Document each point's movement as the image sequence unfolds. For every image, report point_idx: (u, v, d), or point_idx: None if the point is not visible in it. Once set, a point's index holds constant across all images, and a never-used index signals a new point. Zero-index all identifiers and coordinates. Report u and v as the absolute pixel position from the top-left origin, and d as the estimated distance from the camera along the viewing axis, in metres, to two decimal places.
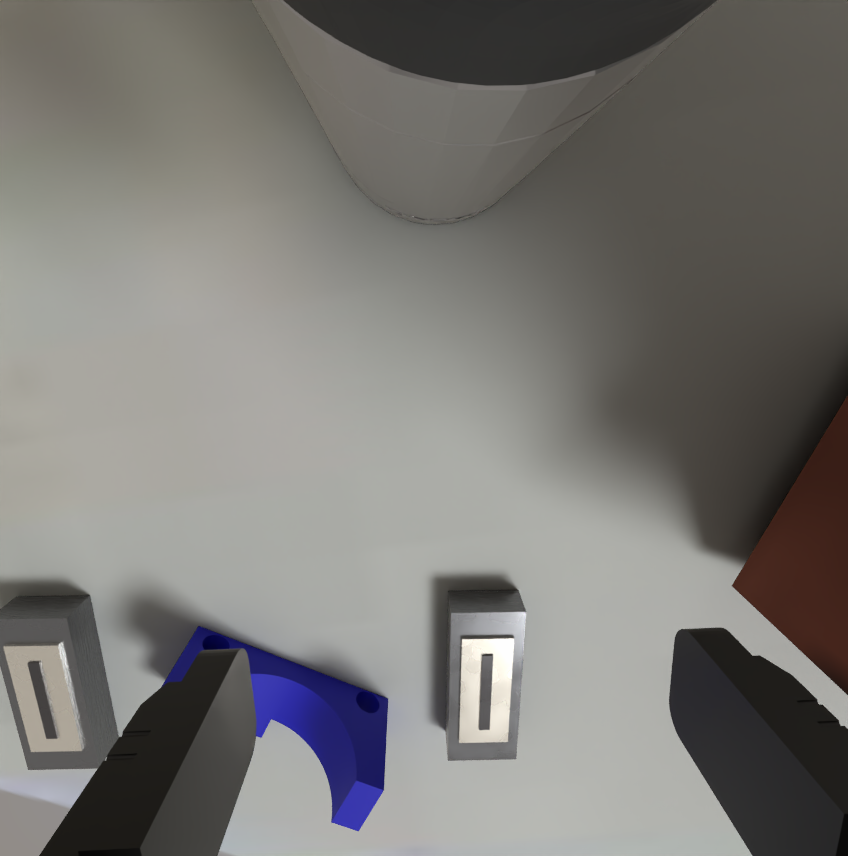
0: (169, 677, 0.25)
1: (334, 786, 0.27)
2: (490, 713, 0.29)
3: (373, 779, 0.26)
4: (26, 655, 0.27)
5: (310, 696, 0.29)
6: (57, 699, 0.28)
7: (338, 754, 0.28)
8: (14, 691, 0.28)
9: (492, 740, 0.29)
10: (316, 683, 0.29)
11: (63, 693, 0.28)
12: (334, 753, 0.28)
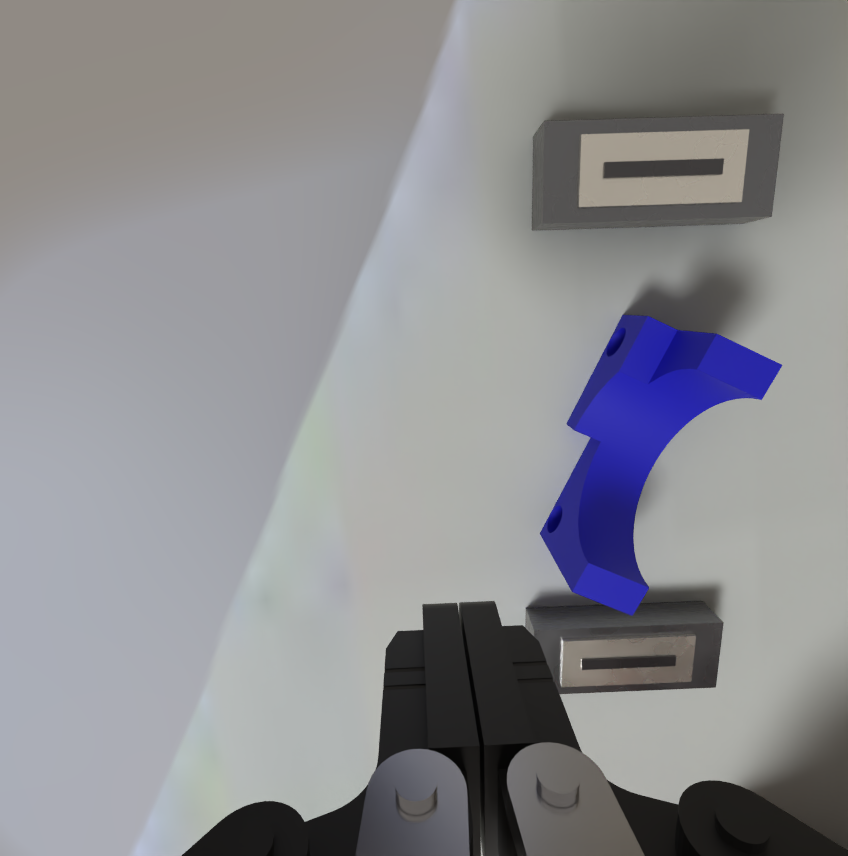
0: None
1: (589, 545, 0.23)
2: (600, 668, 0.27)
3: None
4: (732, 157, 0.21)
5: (635, 487, 0.26)
6: (662, 187, 0.22)
7: (608, 539, 0.24)
8: (675, 127, 0.21)
9: (564, 672, 0.27)
10: None
11: (670, 195, 0.22)
12: (603, 533, 0.24)
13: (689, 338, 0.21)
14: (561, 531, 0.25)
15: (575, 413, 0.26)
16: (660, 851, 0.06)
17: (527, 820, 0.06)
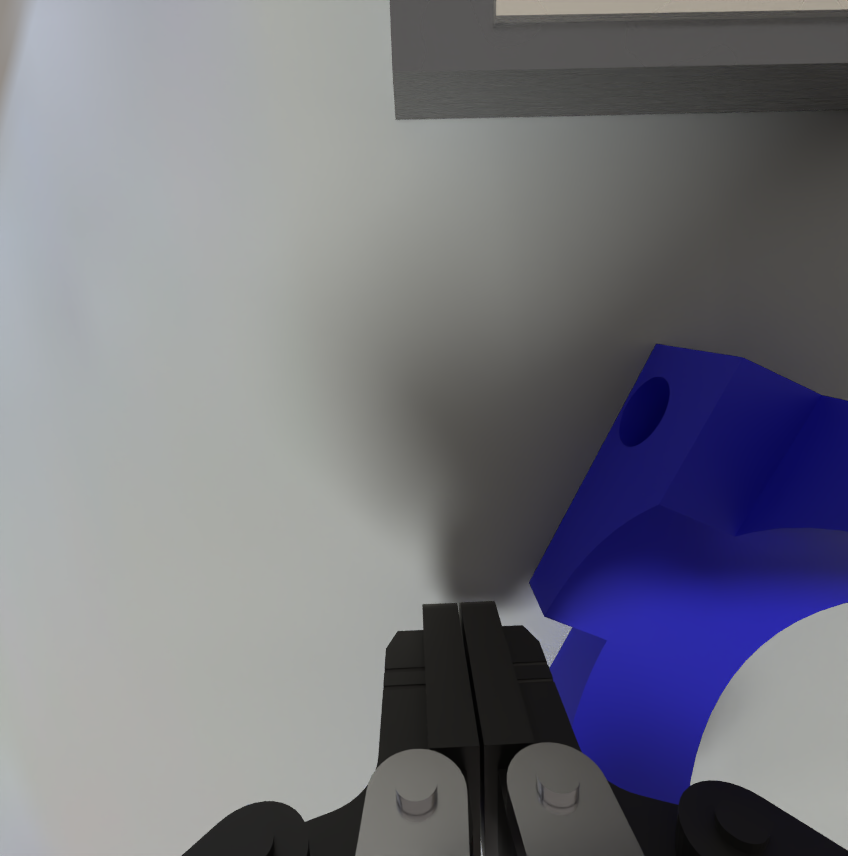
0: None
1: None
2: None
3: None
4: None
5: (685, 737, 0.11)
6: None
7: None
8: None
9: None
10: None
11: None
12: None
13: None
14: None
15: (548, 566, 0.11)
16: (660, 851, 0.06)
17: (527, 820, 0.06)
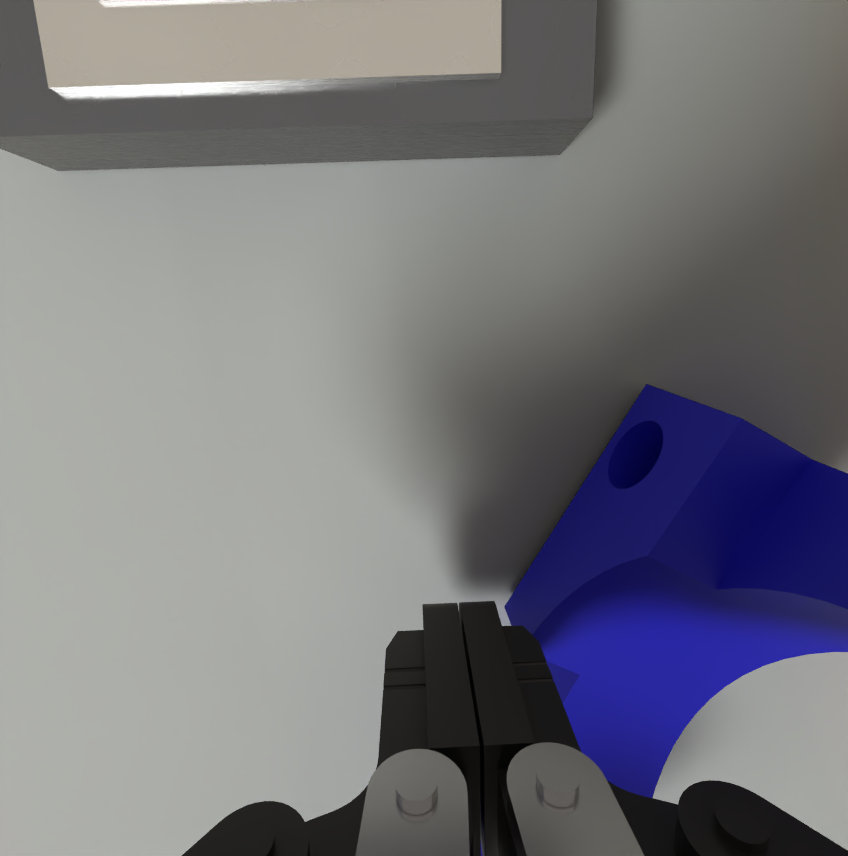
0: None
1: None
2: None
3: None
4: None
5: (646, 768, 0.11)
6: (274, 30, 0.08)
7: None
8: None
9: None
10: None
11: (299, 55, 0.08)
12: None
13: None
14: None
15: (527, 597, 0.11)
16: (660, 851, 0.06)
17: (527, 820, 0.06)
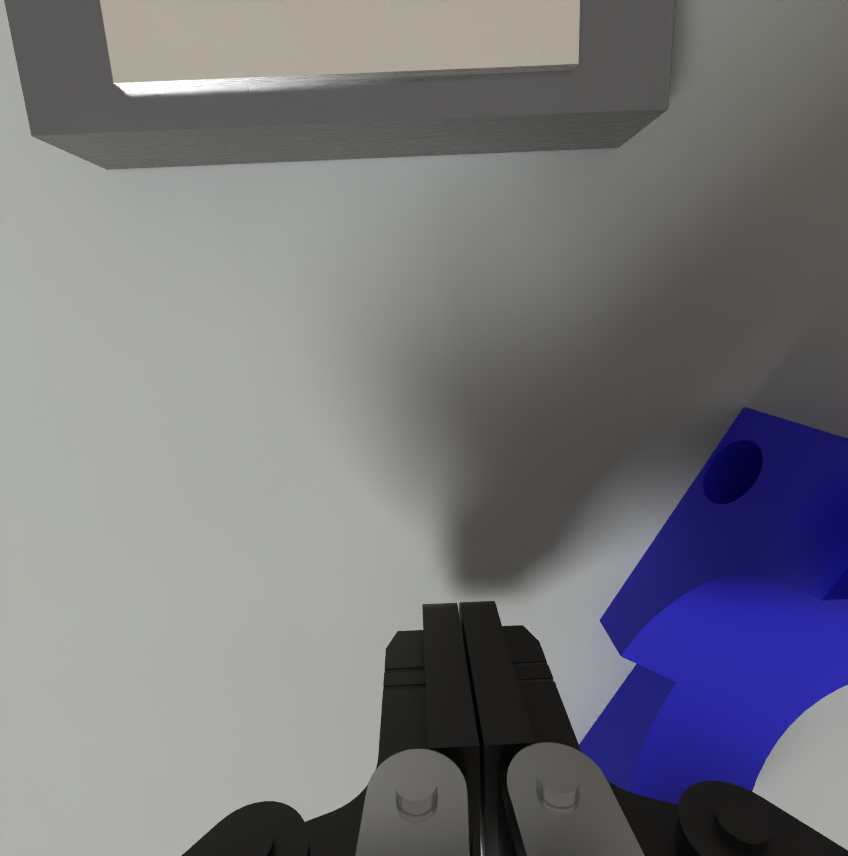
0: None
1: None
2: None
3: None
4: None
5: (741, 778, 0.12)
6: (347, 22, 0.08)
7: None
8: None
9: None
10: None
11: (373, 47, 0.08)
12: None
13: None
14: None
15: (622, 607, 0.12)
16: (660, 851, 0.06)
17: (527, 820, 0.06)
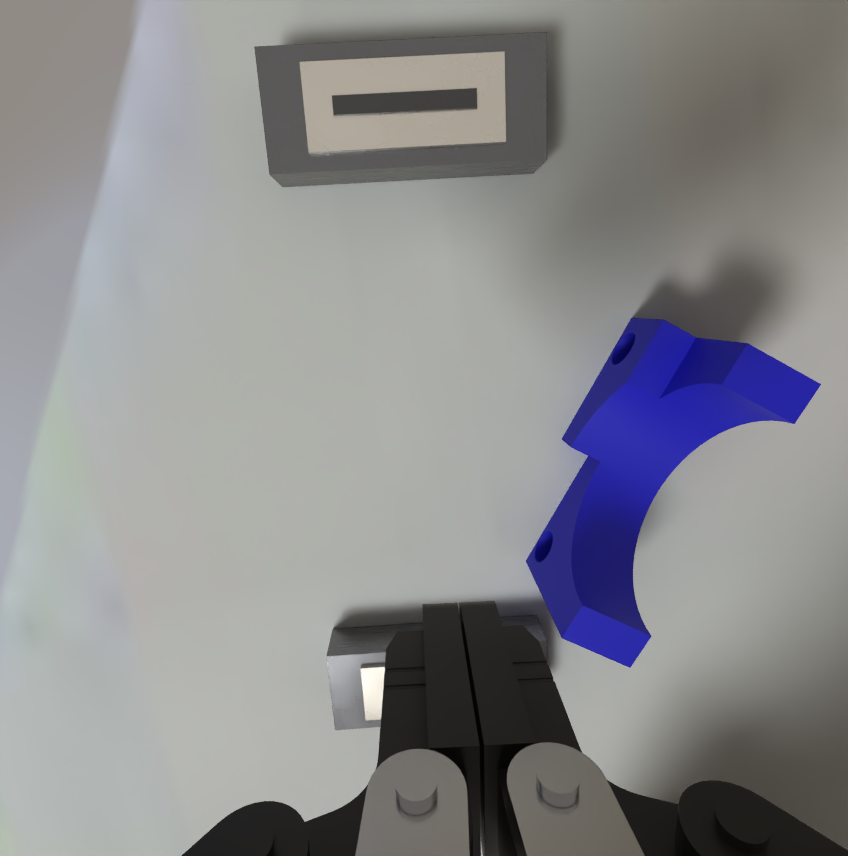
0: None
1: (583, 582, 0.20)
2: None
3: None
4: (488, 87, 0.18)
5: (636, 514, 0.22)
6: (408, 126, 0.18)
7: (604, 575, 0.21)
8: (415, 50, 0.18)
9: (366, 704, 0.23)
10: None
11: (418, 136, 0.18)
12: (599, 567, 0.21)
13: (711, 347, 0.18)
14: (551, 561, 0.22)
15: (572, 427, 0.23)
16: (660, 851, 0.06)
17: (527, 820, 0.06)
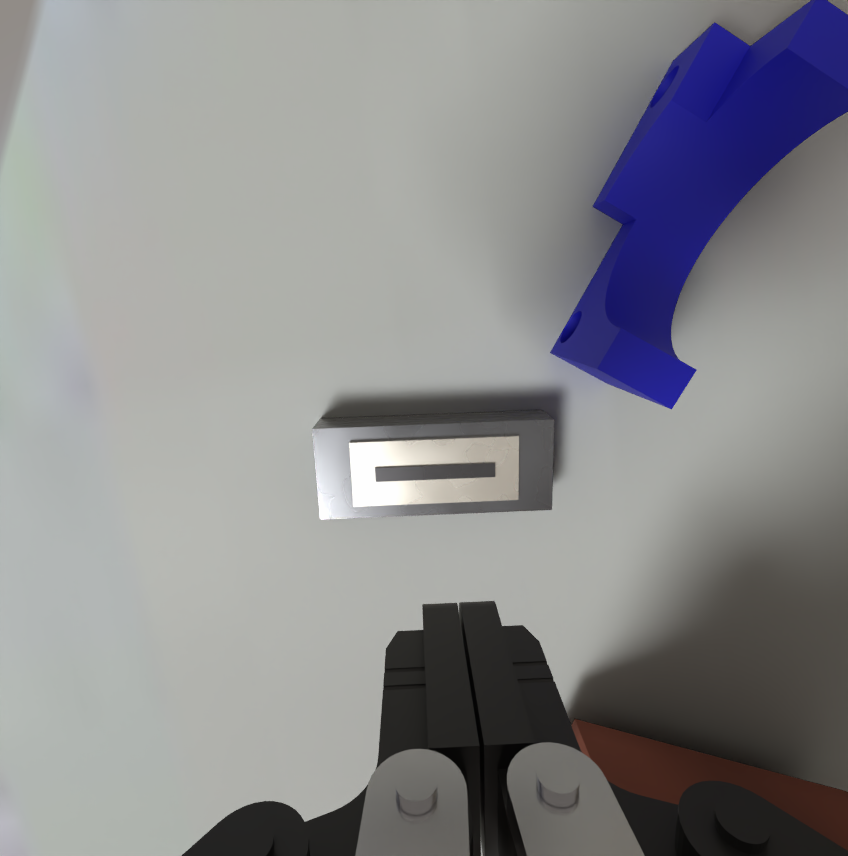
0: None
1: (619, 325, 0.18)
2: (400, 480, 0.21)
3: None
4: None
5: (674, 283, 0.20)
6: None
7: (641, 329, 0.19)
8: None
9: (355, 486, 0.21)
10: None
11: None
12: (635, 322, 0.19)
13: (771, 36, 0.16)
14: (580, 330, 0.20)
15: (605, 187, 0.21)
16: (660, 851, 0.06)
17: (527, 820, 0.06)
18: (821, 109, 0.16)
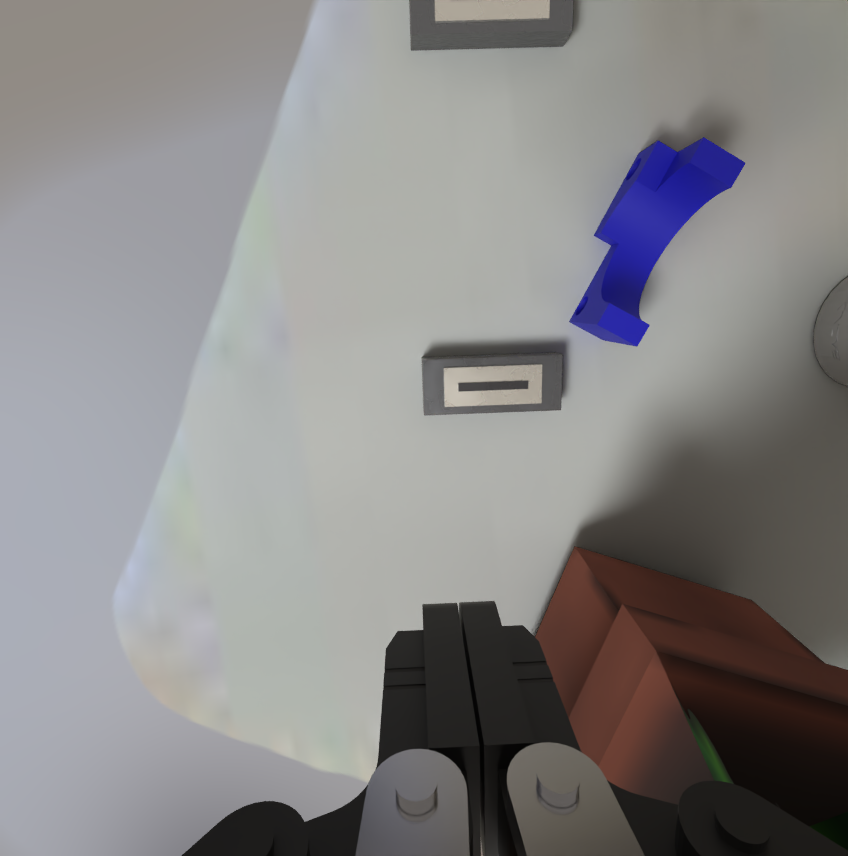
0: None
1: (609, 302, 0.33)
2: (472, 391, 0.37)
3: None
4: None
5: (641, 279, 0.36)
6: (493, 6, 0.31)
7: (621, 305, 0.34)
8: None
9: (446, 394, 0.37)
10: None
11: (499, 13, 0.31)
12: (618, 301, 0.34)
13: (685, 151, 0.31)
14: (587, 306, 0.35)
15: (601, 224, 0.36)
16: (660, 851, 0.06)
17: (527, 820, 0.06)
18: (711, 188, 0.31)
